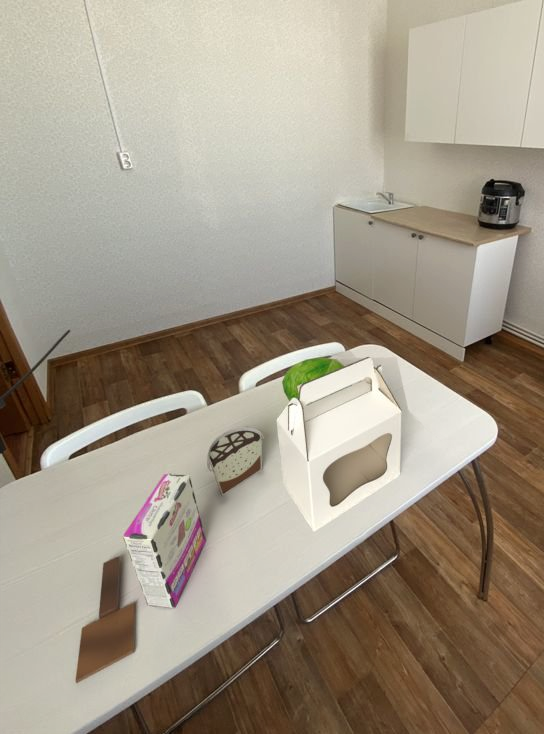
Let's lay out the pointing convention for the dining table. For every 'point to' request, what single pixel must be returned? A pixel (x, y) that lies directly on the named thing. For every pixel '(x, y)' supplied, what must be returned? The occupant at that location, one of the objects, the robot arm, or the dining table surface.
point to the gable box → (339, 441)
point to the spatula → (107, 627)
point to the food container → (235, 457)
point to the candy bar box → (166, 540)
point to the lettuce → (308, 374)
